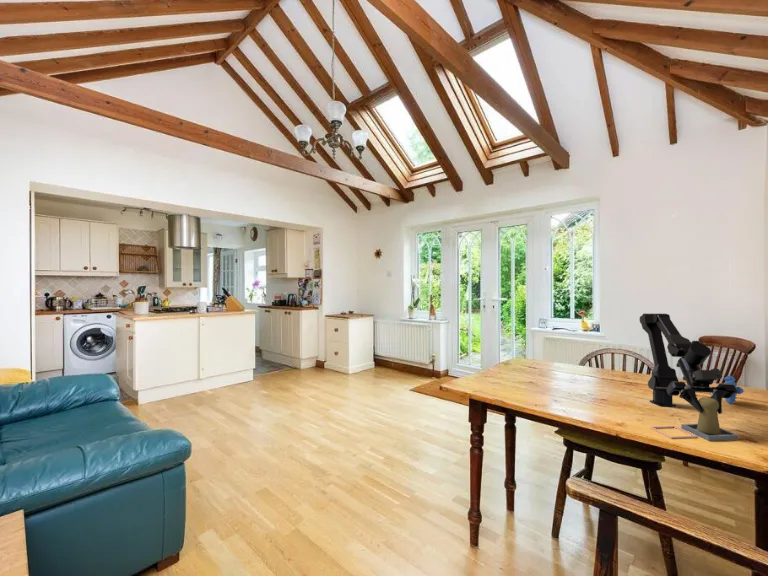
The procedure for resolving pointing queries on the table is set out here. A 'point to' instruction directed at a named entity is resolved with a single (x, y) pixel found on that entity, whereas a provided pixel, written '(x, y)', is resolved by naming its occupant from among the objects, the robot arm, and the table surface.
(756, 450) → the table surface
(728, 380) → the grapes
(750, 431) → the table surface
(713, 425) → the cork
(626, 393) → the table surface
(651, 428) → the frame
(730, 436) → the lower port socket
